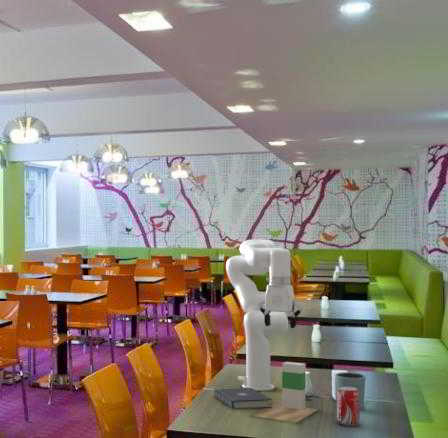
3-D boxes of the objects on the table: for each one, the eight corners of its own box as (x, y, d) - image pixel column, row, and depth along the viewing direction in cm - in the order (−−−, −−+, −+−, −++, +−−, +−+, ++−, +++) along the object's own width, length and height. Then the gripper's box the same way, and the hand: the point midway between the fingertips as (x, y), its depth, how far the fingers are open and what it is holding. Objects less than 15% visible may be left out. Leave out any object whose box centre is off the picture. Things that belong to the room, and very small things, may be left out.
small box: (350, 402, 292) (350, 374, 292) (335, 401, 293) (335, 373, 293) (347, 397, 300) (347, 370, 300) (331, 396, 301) (331, 369, 301)
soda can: (333, 421, 263) (333, 386, 263) (353, 421, 263) (353, 385, 264) (342, 427, 256) (342, 390, 256) (363, 426, 256) (363, 390, 257)
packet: (282, 363, 282) (286, 361, 285) (282, 407, 282) (286, 405, 285) (301, 365, 277) (305, 363, 281) (301, 410, 277) (305, 407, 280)
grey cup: (365, 405, 286) (364, 373, 286) (366, 412, 276) (366, 378, 276) (335, 403, 289) (335, 371, 289) (336, 410, 279) (336, 376, 279)
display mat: (250, 416, 270) (250, 415, 270) (274, 404, 287) (274, 403, 287) (296, 423, 260) (296, 422, 260) (317, 411, 278) (317, 409, 278)
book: (214, 396, 301) (213, 389, 301) (251, 395, 302) (251, 387, 302) (232, 409, 279) (232, 400, 280) (272, 407, 281) (271, 399, 281)
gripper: (254, 281, 295) (254, 326, 295) (299, 283, 284) (299, 329, 284) (261, 279, 301) (262, 324, 301) (306, 281, 290) (306, 327, 290)
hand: (280, 326), depth 292 cm, fingers open, 9 cm apart
